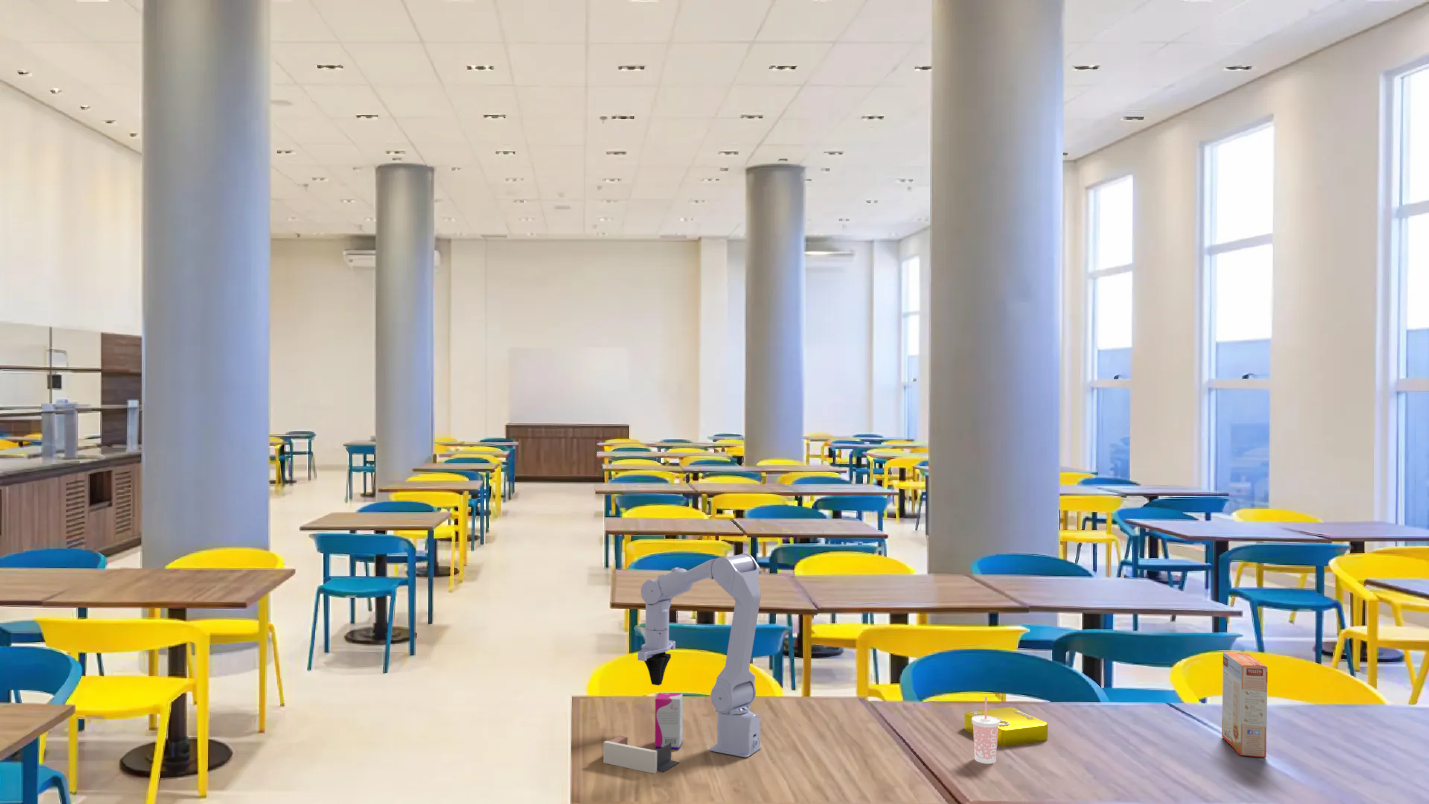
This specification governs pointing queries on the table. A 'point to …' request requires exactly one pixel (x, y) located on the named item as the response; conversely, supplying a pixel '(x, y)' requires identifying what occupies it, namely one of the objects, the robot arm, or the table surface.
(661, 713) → the supplement box
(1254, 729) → the cracker box
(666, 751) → the bookend
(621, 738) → the pink rectangular block
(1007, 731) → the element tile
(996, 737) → the beverage cup
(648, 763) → the shelf wall
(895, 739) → the table surface
